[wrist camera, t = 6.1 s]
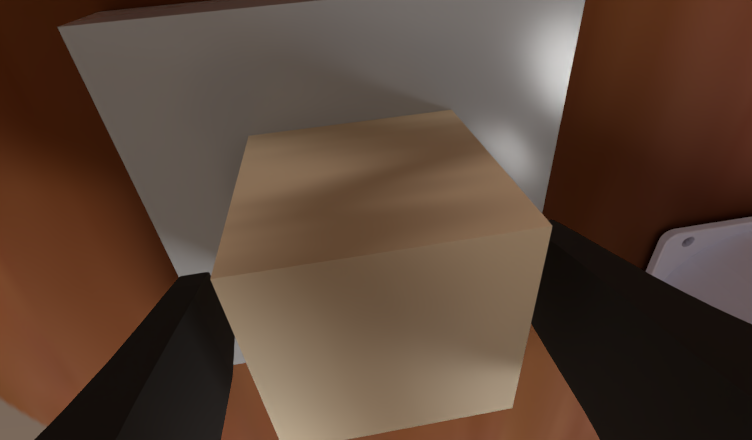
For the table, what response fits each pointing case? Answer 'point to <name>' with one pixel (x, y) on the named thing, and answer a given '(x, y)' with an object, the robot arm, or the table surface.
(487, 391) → the maple cube
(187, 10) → the plate
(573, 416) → the table surface
